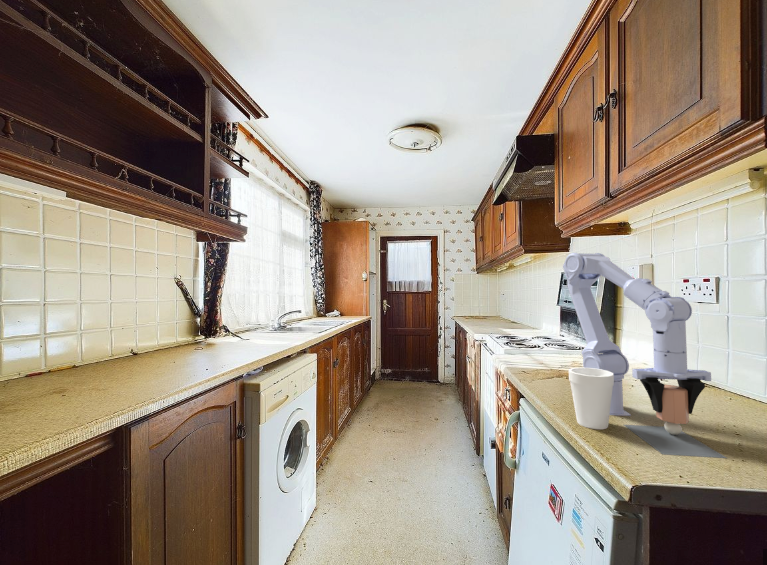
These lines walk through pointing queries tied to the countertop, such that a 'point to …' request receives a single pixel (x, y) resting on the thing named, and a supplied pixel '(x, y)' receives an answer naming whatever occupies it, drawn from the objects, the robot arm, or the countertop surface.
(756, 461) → the countertop surface
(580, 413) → the foam cup
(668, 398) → the salmon pink faceted cylinder
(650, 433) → the mat
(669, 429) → the marble
